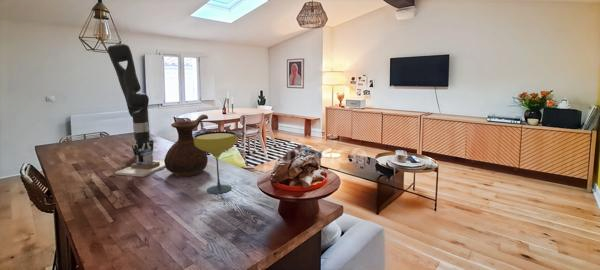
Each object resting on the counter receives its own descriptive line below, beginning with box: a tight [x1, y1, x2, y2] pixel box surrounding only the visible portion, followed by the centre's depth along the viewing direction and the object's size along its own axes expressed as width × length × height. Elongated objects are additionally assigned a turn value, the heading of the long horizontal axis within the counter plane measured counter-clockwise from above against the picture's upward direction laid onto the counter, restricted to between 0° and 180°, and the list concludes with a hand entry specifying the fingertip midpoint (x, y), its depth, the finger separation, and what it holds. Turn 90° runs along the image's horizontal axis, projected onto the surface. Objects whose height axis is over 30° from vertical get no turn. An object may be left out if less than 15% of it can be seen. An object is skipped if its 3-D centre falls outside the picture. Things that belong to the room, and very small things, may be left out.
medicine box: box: [136, 149, 154, 165], centre depth 178 cm, size 8×4×9 cm, turn 62°
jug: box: [163, 114, 209, 178], centre depth 167 cm, size 22×22×30 cm
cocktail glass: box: [193, 130, 238, 195], centre depth 143 cm, size 18×18×25 cm
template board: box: [114, 159, 166, 177], centre depth 179 cm, size 24×18×3 cm
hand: (145, 160), depth 178 cm, fingers closed on medicine box, 5 cm apart
